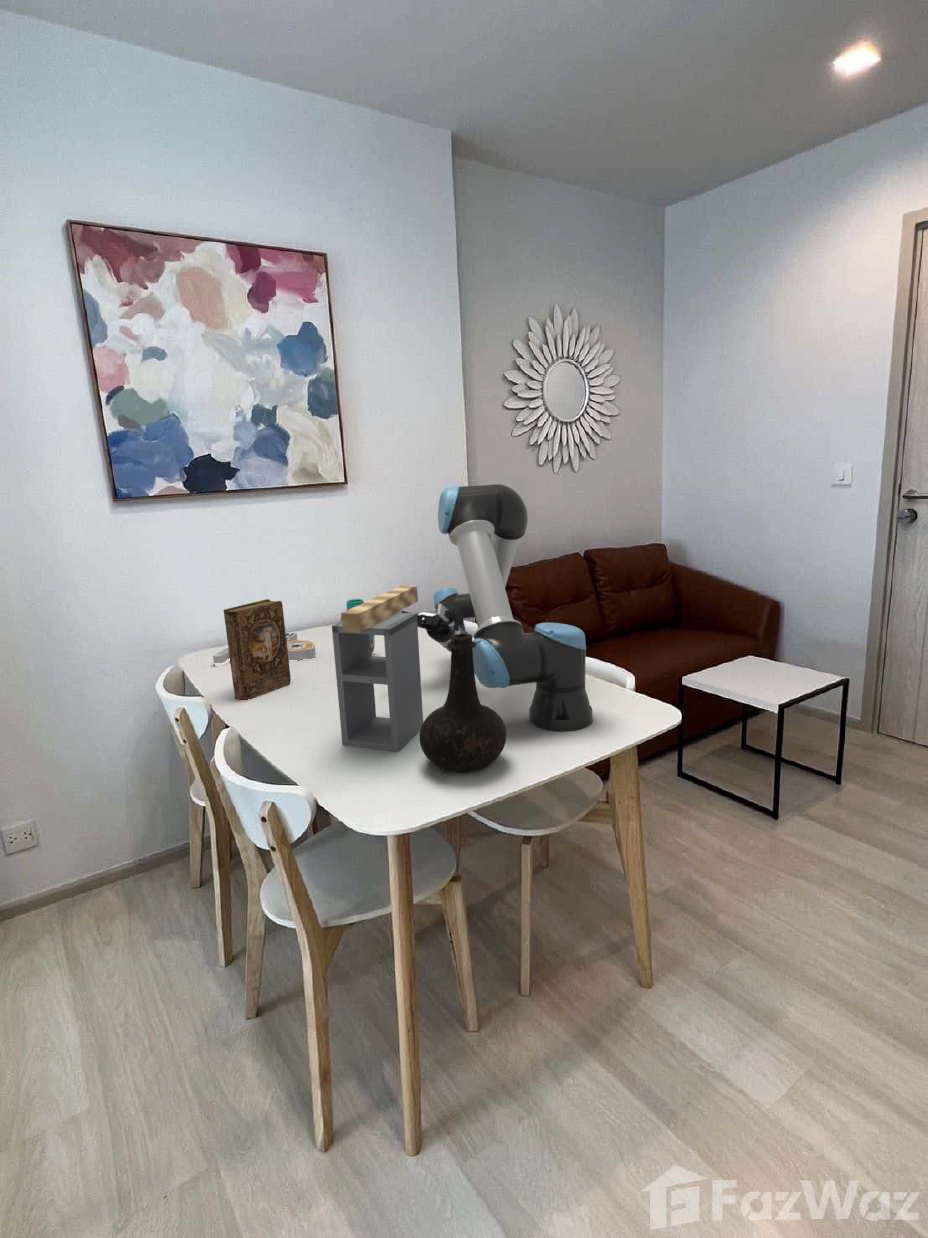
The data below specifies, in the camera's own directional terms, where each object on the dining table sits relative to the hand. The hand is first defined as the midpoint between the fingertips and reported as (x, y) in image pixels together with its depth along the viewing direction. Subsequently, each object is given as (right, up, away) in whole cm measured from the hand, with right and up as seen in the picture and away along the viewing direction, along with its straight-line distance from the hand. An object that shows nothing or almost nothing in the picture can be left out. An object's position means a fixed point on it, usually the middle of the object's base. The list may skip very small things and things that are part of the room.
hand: (414, 607), depth 170 cm
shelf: (-6, -30, -14) cm, 34 cm away
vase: (-21, -16, +48) cm, 55 cm away
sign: (-50, -15, +56) cm, 77 cm away
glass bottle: (+13, -33, -29) cm, 46 cm away
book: (-45, -24, +20) cm, 54 cm away
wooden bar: (-6, -2, -17) cm, 18 cm away
